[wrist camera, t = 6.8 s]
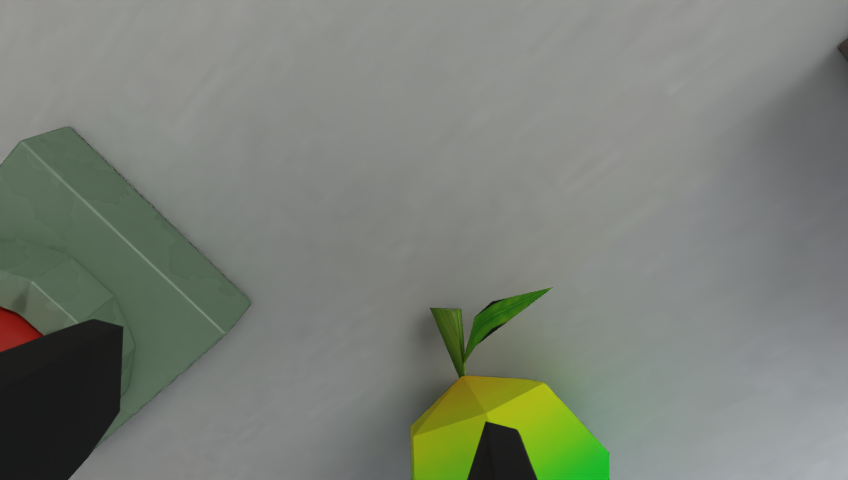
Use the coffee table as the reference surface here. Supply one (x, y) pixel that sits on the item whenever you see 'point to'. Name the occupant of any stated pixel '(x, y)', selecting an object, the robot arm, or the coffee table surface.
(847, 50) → the dial panel
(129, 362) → the button block
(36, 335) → the button
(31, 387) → the robot arm
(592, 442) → the apple
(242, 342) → the coffee table surface
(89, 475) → the coffee table surface
